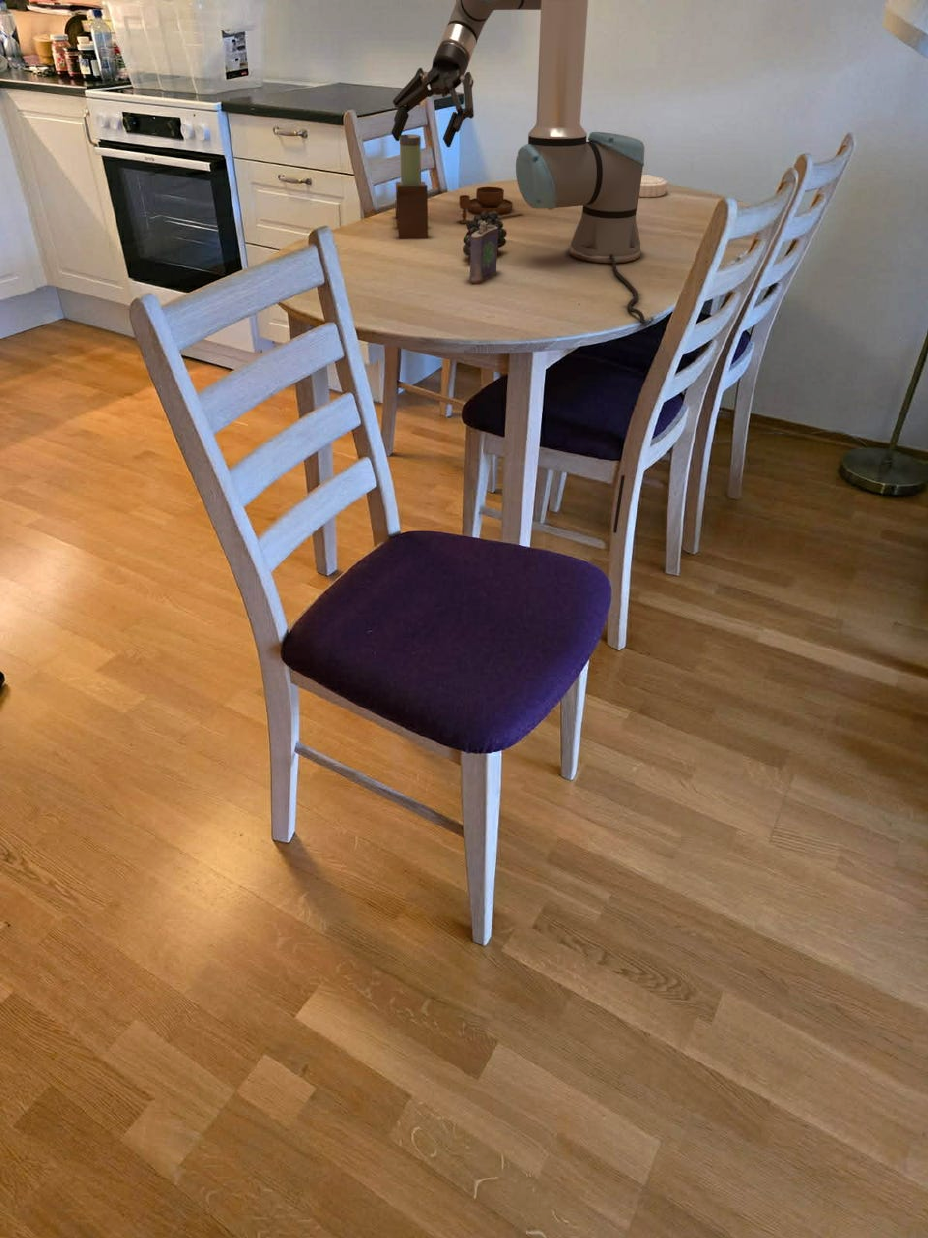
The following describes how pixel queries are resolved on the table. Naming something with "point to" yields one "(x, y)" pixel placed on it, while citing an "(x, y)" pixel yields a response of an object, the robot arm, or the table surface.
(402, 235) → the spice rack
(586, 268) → the table surface
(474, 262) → the flask
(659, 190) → the mooncake
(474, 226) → the fruit
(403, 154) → the spice jar
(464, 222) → the place setting
